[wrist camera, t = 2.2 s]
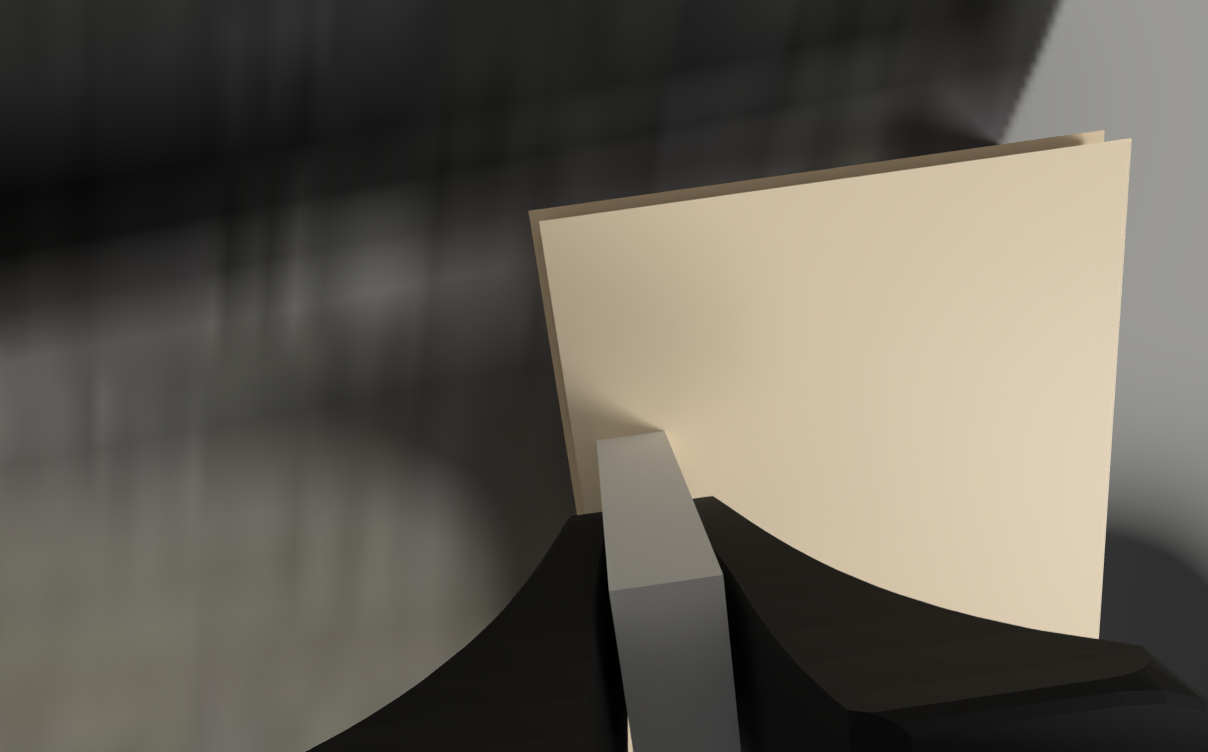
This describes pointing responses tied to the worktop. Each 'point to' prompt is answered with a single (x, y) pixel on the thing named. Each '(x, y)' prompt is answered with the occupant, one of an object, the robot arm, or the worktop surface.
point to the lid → (845, 400)
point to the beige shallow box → (742, 188)
